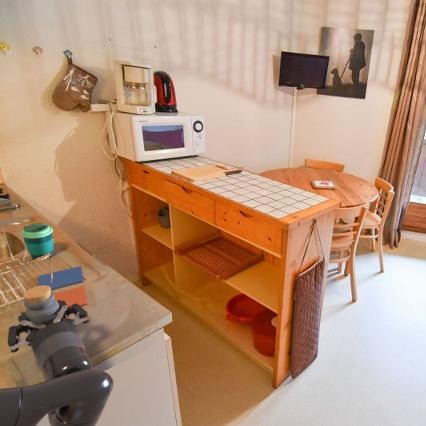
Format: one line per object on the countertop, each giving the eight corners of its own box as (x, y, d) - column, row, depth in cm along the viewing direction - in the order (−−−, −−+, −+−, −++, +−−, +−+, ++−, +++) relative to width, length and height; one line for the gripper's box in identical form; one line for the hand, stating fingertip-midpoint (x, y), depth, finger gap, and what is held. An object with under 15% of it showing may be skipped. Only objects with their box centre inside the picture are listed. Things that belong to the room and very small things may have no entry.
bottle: (70, 343, 77) (55, 292, 71) (39, 355, 73) (20, 303, 67) (66, 329, 81) (51, 280, 75) (36, 340, 77) (18, 289, 71)
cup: (54, 249, 117) (45, 219, 112) (63, 256, 113) (55, 226, 108) (26, 257, 110) (15, 226, 106) (34, 266, 106) (24, 234, 102)
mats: (37, 318, 85) (36, 317, 85) (38, 276, 101) (38, 275, 101) (87, 304, 92) (86, 303, 92) (80, 267, 108) (80, 266, 108)
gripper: (96, 318, 69) (75, 283, 79) (6, 355, 58) (-6, 310, 68) (103, 344, 72) (81, 308, 82) (18, 383, 61) (5, 336, 71)
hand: (41, 309), depth 75 cm, fingers closed on bottle, 6 cm apart
